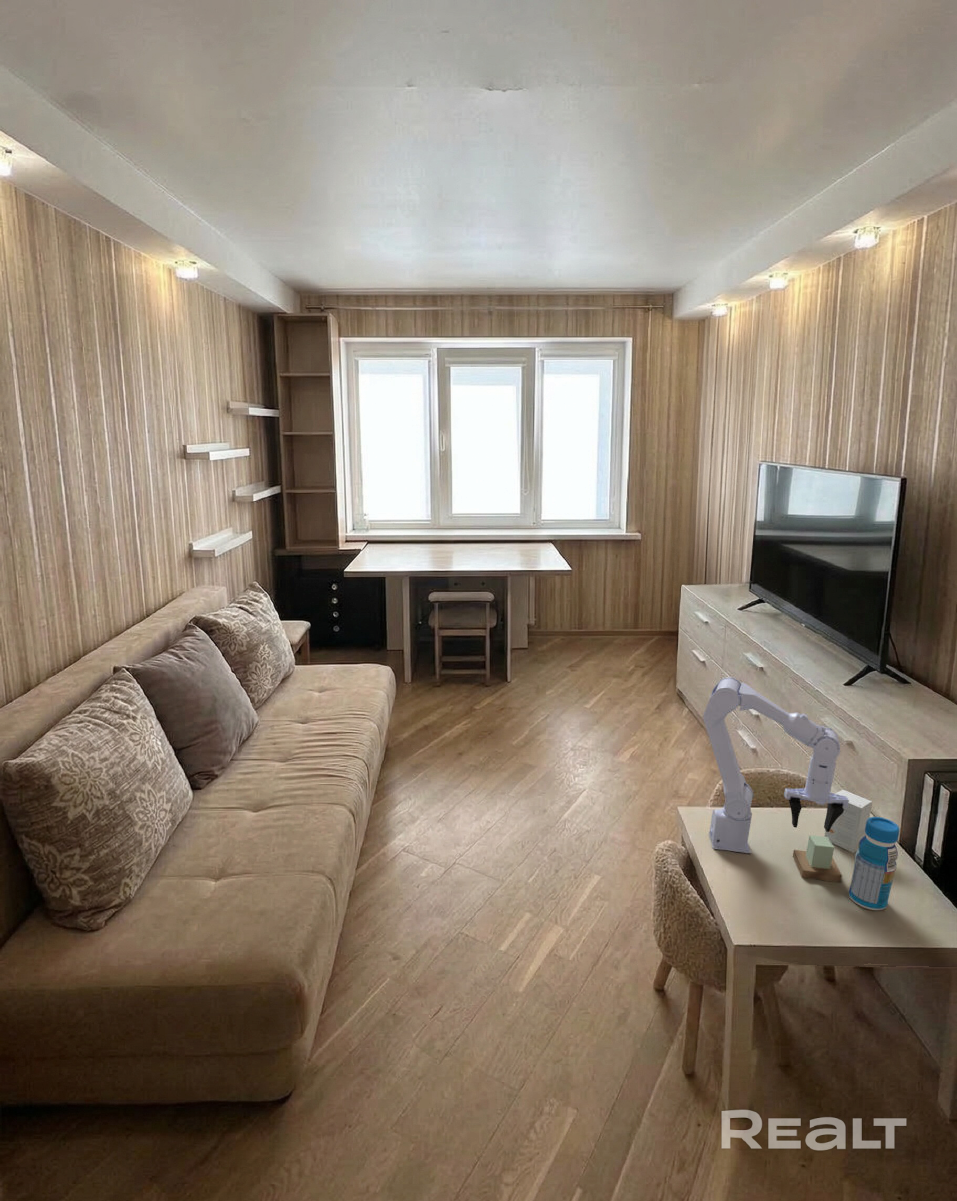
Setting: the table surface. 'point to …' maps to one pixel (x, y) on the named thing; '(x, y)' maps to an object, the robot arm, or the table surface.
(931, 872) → the table surface
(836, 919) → the table surface
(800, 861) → the plinth
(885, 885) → the beverage bottle
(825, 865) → the block
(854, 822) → the small box
